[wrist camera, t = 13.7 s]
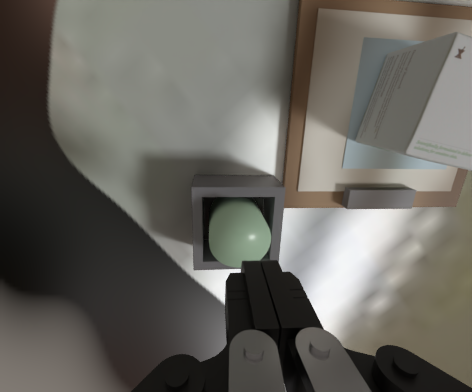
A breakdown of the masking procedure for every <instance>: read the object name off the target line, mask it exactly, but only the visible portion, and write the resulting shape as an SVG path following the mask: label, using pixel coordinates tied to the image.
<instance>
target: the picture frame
mask: <svg viewBox="0 0 472 392" xmlns="http://www.w3.org/2000/svg"><path fill="white" fill-rule="evenodd" d="M454 32H459V33H462V34H465V35H468V36H471V37H472V7H465V6H453V5H441V4H429V3H417V2H405V1H393V0H299V9H298V20H297V31H296V42H295V53H294V64H293V75H292V85H291V96H290V107H289V118H288V129H287V140H286V151H285V162H284V172H283V183H282V184H283V185H284V186H285V187H286V189H285V200H284V208H346V209H408V208H412V207H456V205H457V202H458V199H459V196H460V193H461V190H462V187H463V184H464V181H465V178H466V175H467V172H468V170H466V169H461V168H457V167H452V166H447V165H443V164H439V163H434V162H430V161H426V160H422V159H418V158H414V157H410V156H406V155H402V154H398V153H395V152H391V151H387V150H384V149H380V148H376V147H373V146H369V145H365V144H361V143H357V142H356V141H355V139H356V136H357V133H358V130H359V127H360V125H361V122H362V119H363V117H364V114H365V112H366V109H367V106H368V103H369V101H370V98H371V95H372V93H373V90H374V87H375V85H376V82H377V79H378V76H379V74H380V71H381V69H382V66H383V63H384V61H385V58H386V56H387V54H388V53H390V52H394V51H397V50H400V49H404V48H407V47H410V46H413V45H416V44H419V43H422V42H425V41H428V40H431V39H435V38H437V37H441V36H444V35H447V34H451V33H454Z"/></svg>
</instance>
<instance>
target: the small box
mask: <svg viewBox="0 0 472 392" xmlns="http://www.w3.org/2000/svg"><path fill="white" fill-rule="evenodd" d="M355 141H356V142H357V143H361V144H365V145H369V146H373V147H376V148H380V149H384V150H387V151H391V152H395V153H398V154H402V155H406V156H410V157H414V158H418V159H422V160H426V161H430V162H434V163H439V164H443V165H447V166H452V167H457V168H461V169H466V170H471V171H472V37H471V36H468V35H465V34H462V33H459V32H454V33H451V34H447V35H444V36H441V37H437V38H435V39H431V40H428V41H425V42H422V43H419V44H416V45H413V46H410V47H407V48H404V49H400V50H397V51H394V52H390V53H388V54H387V56H386V58H385V61H384V63H383V66H382V69H381V71H380V74H379V76H378V79H377V82H376V85H375V87H374V90H373V93H372V95H371V98H370V101H369V103H368V106H367V109H366V112H365V114H364V117H363V119H362V122H361V125H360V127H359V130H358V133H357V136H356V139H355Z"/></svg>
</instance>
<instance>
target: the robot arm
mask: <svg viewBox="0 0 472 392" xmlns="http://www.w3.org/2000/svg"><path fill="white" fill-rule="evenodd" d="M225 319H226V338H227V345H226V346H225V348H224V349H223V350H222V351H221V352H220V353H219V354H218V355H216V356H215V357H212V358H210V359H208V360H205V361H203V362H199V361H198V360H197V359H196V358H194V357H193V356H190V355H186V354H179V355H174V356H171V357H169V358H167V359H165V360H164V361H162V362H161V363H160V364H159V365H158V366H157V367H156V368H155V369H154V370H153V371H152V372H151V373H150V374H149V375H147V376H146V378H144V379H143V380H142V381H141V382H140V383H139V384H138V385H137V387H135V388H134V389H133V390H132V391H131V392H285V387H286V391H287V392H472V388H471V387H469V386H467V385H466V384H464V383H462V382H460V381H459V380H457V379H455V378H454V377H452V376H450V375H449V374H447V373H445V372H444V371H442V370H440V369H439V368H437V367H435V366H433V365H432V364H430V363H428V362H427V361H425V360H423V359H422V358H420V357H418V356H417V355H415V354H413V353H412V352H410V351H408V350H406V349H403V348H401V347H398V346H393V345H385V346H382V347H380V348H379V349H378V350H377V352H376V355H375V356H372V355H367V354H363V353H359V352H355V351H352V350H349V349H346V348H344V347H343V346H342V344H341V343H340V341H339V340H338V339H337V338H336V337H335V336H334V335H332V334H331V333H329V332H328V331H326V330H324V329H323V327H322V325H321V323H320V321H319V319H318V317H317V315H316V313H315V311H314V309H313V307H312V305H311V303H310V301H309V299H308V298H307V295H306V293H305V291H304V290H303V287H302V285H301V283H300V281H299V279H298V278H296V277H295V276H294V275H293V274H292V273H291V272H282V270H281V267H280V265H279V263H278V261H277V260H260V261H259V260H252V261H242V263H241V273H230V275H229V276H228V278H227V280H226V294H225ZM284 384H285V386H284Z"/></svg>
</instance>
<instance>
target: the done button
mask: <svg viewBox="0 0 472 392" xmlns="http://www.w3.org/2000/svg"><path fill="white" fill-rule="evenodd" d="M270 244H271V232H270V229H269V227H268V225H267V223H266V221H265V219H264V217H263V215H262V213H261V211H260V209H259V207H258V205H257V203H256V202H255V200H254V199H253V198H252V197H217V198H216V199H215V200H214V201H213V202H212V204H211V207H210V210H209V247H210V250H211V252H212V254H213V256H214V257H215V258H216V259H217V260H218V261H219V262H221V263H222V264H224V265H227V266H230V267H236V268H240V267H241V263H242V261H252V260H261V259H262V258H263V257H264V255H265V254H266V253H267V251H268V249H269V247H270Z"/></svg>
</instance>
